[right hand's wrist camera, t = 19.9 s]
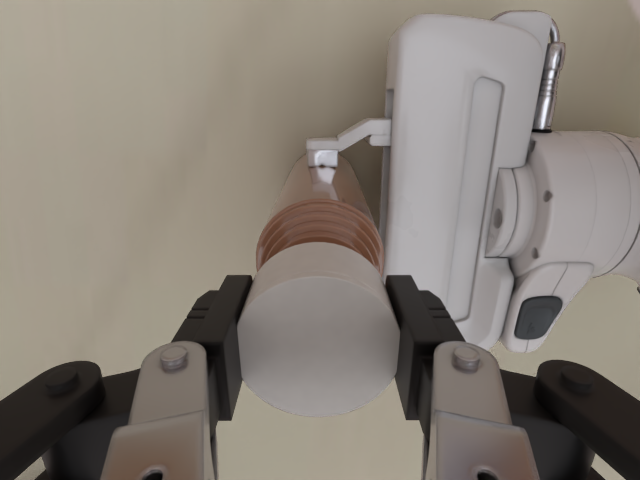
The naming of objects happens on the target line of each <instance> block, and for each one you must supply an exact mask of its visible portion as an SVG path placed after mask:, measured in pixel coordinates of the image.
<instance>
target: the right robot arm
mask: <svg viewBox="0 0 640 480" xmlns="http://www.w3.org/2000/svg"><path fill="white" fill-rule="evenodd" d="M252 282H253V281H252V276H251V275H227V276H226V278H225V280H224V282H223V283H222V285H221V287H220V289H219V290H210V291H208V292H207V293H205V294H204V295H202V296H201V297H200V298H198V299H197V301H196V302H195V304H194V306H193V307H192V310H191V311H190V312H189V314H188V315H187V319H185V320H184V322H183V324H182V325H181V327H180V328H179V330H178V332H177V333H176V335H175V337H174V338H173V340H172V342H171V343H169V344H165V345H163V346H160V347H159V348H157V349H155V350H153V351H152V352H151V353H149V354H148V355H147V356H146V357H145V359H144V360H143V362H142V365H141V368H140V369H137V370H134V371H130V372H125V373H121V374H116V375H111V376H106V377H102V374H101V370H100V367H99V366H98V365H97V364H95V363H93V362H89V361H74V362H69V363H65V364H62V365H59V366H56V367H53V368H51V369H49V370H47V371H45V372H43V373H42V374H40V375H38V376H37V377H35V378H34V379H32V380H31V381H29V382H28V383H26V384H25V385H24V386H22V387H21V388H19V389H18V390H16V391H15V392H13V393H12V394H10V395H9V396H7V397H6V398H4V399H3V400H1V401H0V480H14V479H15V478H16V477H18V476H19V475H20V474H21V473H22V472H23V471H24V470H26V469H27V468H28V467H29V466H30V465H31V464H32V463H34V462H35V461H36V460H37V459H38V458H39V457H40V456H42V459H43V462H44V465H45V468H46V470H45V471H43V472H42V473H41V474H40V475H39V476H38V477H37V478H36V479H35V480H219V470H218V446H217V436H216V425H217V422H218V421H231V420H232V416H233V413H234V409H235V406H236V402H237V398H238V395H239V391H240V387H241V384H242V380H243V379H242V375H241V364H240V354H239V343H238V332H237V323H238V320H239V318H240V315H241V312H242V309H243V306H244V304H245V301H246V298H247V295H248V293H249V290H250V287H251V284H252ZM385 287H386V290H387V293H388V296H389V299H390V302H391V305H392V308H393V310H394V313H395V316H396V319H397V322H398V325H399V328H400V341H399V352H398V363H397V372H396V374H395V376H394V377H395V381H396V384H397V388H398V392H399V395H400V399H401V403H402V407H403V410H404V414H405V418H406V420H419V421H420V424H421V427H422V431H423V433H424V436H423V446H422V470H421V480H605V479H604V478H603V477H602V476H601V475H600V474H599V473H598V472H597V471H595V470H594V469H593V468H592V467H591V465H592V462H593V459H594V456H595V453H596V454H597V455H598V456H600V457H601V458H602V459H603V460H604V461H605V462H606V463H608V464H609V465H610V466H611V467H612V468H613V469H614V470H616V471H617V472H618V473H619V474H620V475H621V476H622V477H624V478H625V479H626V480H640V401H639V400H637V399H636V398H634V397H633V396H631V395H630V394H628V393H627V392H625V391H624V390H622V389H621V388H619V387H618V386H616V385H615V384H614V383H612V382H611V381H609V380H608V379H606V378H605V377H603V376H602V375H600V374H599V373H597V372H595V371H594V370H592V369H590V368H588V367H585V366H583V365H580V364H577V363H574V362H570V361H564V360H549V361H546V362H543V363H542V364H541V365H540V366H539V368H538V371H537V375H536V377H533V376H528V375H523V374H519V373H514V372H509V371H505V370H502V369H499V365H498V362H497V360H496V359H495V357H494V356H493V355H492V354H491V353H489V352H488V351H487V350H485V349H483V348H481V347H480V346H477V345H475V344H471V343H468V342H466V341H465V339H464V337H463V336H462V334H461V332H460V331H459V329H458V327H457V326H456V324H455V322H454V321H453V319H452V318H451V316H450V314H449V312H448V311H447V310H446V307H445V306H444V304H443V302H442V301H441V299H440V298H439V297H437V296H436V295H434V294H433V293H432V292H430V291H429V290H419V289H418V287H417V285H416V283H415V282H414V280H413V278H412V276H411V275H387V276H386V281H385Z"/></svg>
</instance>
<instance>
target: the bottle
mask: <svg viewBox="0 0 640 480" xmlns="http://www.w3.org/2000/svg"><path fill="white" fill-rule="evenodd" d="M310 242H326V243H333V244H337V245H341V246H344V247H347V248H349V249H352V250H353V251H355V252H357V253H359V254H360V255H362V256H363V257H364V258H366V259H367V260H368V261H369V262H370V263H371V264H372V265H373V266H374V267H375V268H376V270H377V271H378V272H379V274H380V276H381V278H382V275H383V268H384V248H383V244H382V240H381V237H380V235H379V232H378V230H377V227H376V225H375V222H374V220H373V217H372V215H371V212H370V210H369V207H368V205H367V202H366V200H365V197H364V195H363V192H362V190H361V187H360V185H359V182H358V180H357V177H356V175H355V172H354V170H353V168H352V166H351V165H350V163H349V162H348V161H347V160H346V159H345V158H344V157H343V156H341V155H340V154H338V166H337V167H325V166H324V165H320V166H319V167H308V166H307V160H306V154H305V155H304V156H302V157H301V158H300V159H299V160H298V161H297V162H296V163H295V164H294V166H293V168H292V170H291V172H290V174H289V176H288V178H287V180H286V182H285V185H284V187H283V189H282V191H281V193H280V195H279V197H278V199H277V202H276V204H275V206H274V208H273V210H272V212H271V214H270V216H269V219H268V221H267V223H266V225H265V227H264V229H263V231H262V233H261V236H260V238H259V241H258V244H257V250H256V267H257V272H258V271H259V270H260V268H261V267H262V266H263V265H264V264H265V263H266V262H267V261H268V260H269V259H270V258H271V257H273V256H274V255H276V254H277V253H279V252H281V251H283V250H284V249H286V248H289V247H292V246H295V245H298V244H303V243H310Z"/></svg>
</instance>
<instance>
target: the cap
mask: <svg viewBox="0 0 640 480" xmlns="http://www.w3.org/2000/svg"><path fill="white" fill-rule="evenodd" d="M237 332H238V343H239V354H240V364H241V375H242V379H243V381H244V382H245V383H246V385H247V386H248V387H249V388H250V389H251V390H252V391H253V392H254V393H255V394H256V395H257V396H258V397H259V398H261V399H262V400H263V401H265V402H266V403H268V404H270V405H271V406H273V407H276V408H278V409H280V410H282V411H285V412H288V413H291V414H296V415H300V416H309V417H327V416H335V415H340V414H344V413H347V412H351V411H353V410H356V409H358V408H360V407H362V406H364V405H366V404H368V403H369V402H371V401H372V400H373V399H375V398H376V397H377V396H379V395H380V394H381V393H382V392H383V391H384V390H385V389H386V388H387V386H388V385H389V384H390V383H391V381H392V379H393V378H394V376H395V374H396V372H397V363H398V352H399V341H400V328H399V325H398V322H397V319H396V316H395V313H394V310H393V308H392V305H391V302H390V299H389V296H388V293H387V290H386V287H385V284H384V282H383V279H382V278H381V276H380V274H379V272H378V271H377V270H376V268H375V267H374V266H373V265H372V264H371V263H370V262H369V261H368V260H367V259H366V258H364V257H363V256H362V255H360V254H359V253H357V252H355V251H353V250H352V249H349V248H347V247H344V246H341V245H337V244H333V243H326V242H310V243H303V244H298V245H295V246H292V247H289V248H286V249H284V250H283V251H281V252H279V253H277V254H276V255H274V256H273V257H271V258H270V259H269V260H268V261H267V262H266V263H265V264H264V265H263V266H262V267H261V268H260V270H259V271H258V272H257V274H256V276H255V277H254V280H253V282H252V284H251V287H250V290H249V293H248V295H247V298H246V301H245V304H244V306H243V309H242V312H241V315H240V318H239V320H238V323H237Z"/></svg>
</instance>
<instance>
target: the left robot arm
mask: <svg viewBox="0 0 640 480" xmlns="http://www.w3.org/2000/svg"><path fill="white" fill-rule="evenodd" d="M549 34H550V41H551V43H548V39H549ZM559 41H560V38H559V31H558V28H557V25H556V23H555V22H554V20H553V19H552V18H551V16H550V15H548V14H546V13H544V12H541V11H536V10H525V11H505V12H502V13H500V14H498V15H496V16H494V17H493V18H492V19H491V20H486V19H480V18H474V17H467V16H458V15H448V14H418V15H415V16H413V17H411V18H409V19H408V20H407V21H405V22H404V23H403V24H402V25H401V26H400V27H399V28H398V29H397V30H396V31H395V32H394V34H393V35H392V36H391V38H390V39H389V43H388V58H387V77H386V97H385V116H384V118H365V119H363V120H361V121H360V122H358V123H356V124H355V125H353V126H352V127H350V128H348V129H347V130H345V131H343V132H342V133H340V134H338V135H337V138H307V139H306V160H307V166H308V167H319V166H320V165H324V166H325V167H337V166H338V152H340V151H342V150H344V149H346V148H347V147H349V146H351V145H353V144H354V143H356V142H358V141H360V140H361V139H363V138H365V140H366V141H367V142H368V143H369V144H370V145H371V146H383V155H382V175H381V195H380V214H379V235H380V237H381V240H382V244H383V248H384V268H383V275H382V279H383V282H384V284H385V281H386V276H387V275H411V276H412V278H413V280H414V282H415V283H416V285H417V287H418V289H419V290H429V291H430V292H432V293H433V294H434V295H436V296H437V297H439V298H440V299H441V301H442V302H443V304H444V306H445V307H446V310H447V311H448V312H449V314H450V316H451V318H452V319H453V321H454V322H455V324H456V326H457V327H458V329H459V331H460V332H461V334H462V336H463V337H464V339H465V341H466V342H468V343H471V344H475V345H477V346H480V347H481V348H483V349H485V350H489V349H490V348H492V347H493V346H494V345H495V344H496V342H497V341H498V340H499V341H500V342H501V343H502V344H503V345H504V346H505V347H506V348H507V349H508V350H509V351H511V352H516V353H528V352H533V351H535V350H537V349H538V348H539V347H540V346H541V345H542V343H543V342H544V340H545V339H546V337H547V336H548V334H549V332H550V331H551V329H552V328H553V326H554V324H555V323H556V321H557V320H558V318H559V317H560V315H561V314H562V312H563V311H564V310H565V308H566V307H567V305H568V304H569V303H570V302H571V300H572V299H573V298H574V296H575V295H576V294H577V293H578V292H579V291H580V290H581V288H582V287H583V286H584V285H585V284H586V283H587V281H588V280H589V279H590V278H594V277H599V276H603V275H609V274H618V275H622V276H626V277H628V278H631V279H633V280H635V281H636V282H637V283H638V285H639V287H637V290H638V292H639V293H640V137H627V136H624V135H621V134H618V133H614V132H608V131H551V125H552V120H553V115H554V110H555V105H556V97H557V96H556V95H557V91H556V90H557V84H558V78H559V74H560V70H562V68H563V64H564V60H565V43H563V42H559Z"/></svg>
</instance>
